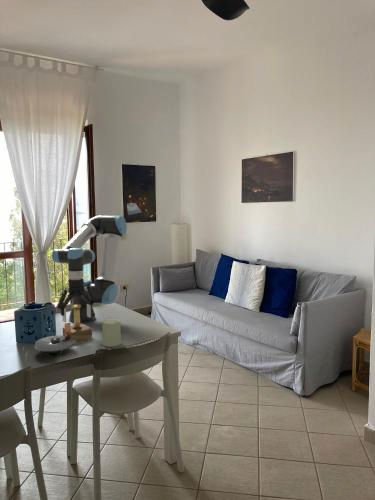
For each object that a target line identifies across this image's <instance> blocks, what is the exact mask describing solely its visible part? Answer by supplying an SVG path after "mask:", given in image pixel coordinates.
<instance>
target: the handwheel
mask: <svg viewBox="0 0 375 500" xmlns="http://www.w3.org/2000/svg"><path fill="white" fill-rule="evenodd" d="M71 323H72V322H64V327H65V336H63V334H62V335H50V336H46V337H42V338H40V339H37V340H36V341H35V342H34V348H35V350H37V351H38V352H44V353H49V352H57V351H62V352H63V351H66V350H69V349H71V348H73V347H74V346H76V342H75V339H74V338H73V337H71V326H72V324H71Z"/></svg>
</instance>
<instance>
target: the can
mask: <svg viewBox="0 0 375 500" xmlns="http://www.w3.org/2000/svg"><path fill="white" fill-rule="evenodd" d="M101 323H102V324H101V325H102V327H101V328H102V329H101V330H102V343H101V344H102V345H103V346H104V347H110V348H111V347H112V348H113V347H117V346H120V345H121V344H122V340H121V339H122V337H121V333H122V331H121V326H122V325H121V319H119V318H105V319H102V321H101Z"/></svg>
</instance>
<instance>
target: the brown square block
mask: <svg viewBox="0 0 375 500" xmlns="http://www.w3.org/2000/svg"><path fill="white" fill-rule="evenodd" d="M62 335H63V336H65V326H64V327H62ZM71 337H73V338H74V339H75V343H76V341H77V342H80V340H81V341H85V340H90V339H92V338H93V328H92V327H90V326H87V325H86V324H83V323H80V329H77V330H74V324H73V325H71Z"/></svg>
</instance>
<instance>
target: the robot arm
mask: <svg viewBox="0 0 375 500" xmlns="http://www.w3.org/2000/svg"><path fill="white" fill-rule="evenodd" d="M126 221H127V220H126V219H125V218H124V216H122V215H117V214H116V215H111V214H110V215H107V214H106V215H103V214H101V215H95V216H93V217H91V218H89V219H88V220H86V221H85V222H84V223H83V224H82V225H81V228H80V229H79V230H78V231H77V232H76V233H75V234H74V235H73V236H72V237H71V238H70V239H69V240H68V241H67V242H66V243H65V244H64V245H63V246H62V247H61V248H55V249H53V250H52V252H51V259H52V261H53V262H54V263H56V264H57V263H58V264H67V273H68V274H67V276H68V277H67V278H68V280H67V282H68V288H67V289H65V288H62V292H61V295H60V298H59V301H58V302H57V305H56V309H59V310H60V316H62V319H61V320H62V322H64V323H67V309H66V307H67V305H68V304H69V303H70V301H71V306H72V305H76V304H80V305H81V308H80V324H83V323H88V322H93V321H94V320H95V319H96V313H95V309H94V308H93V307H94V306H93V305H94V304H98V305H99V304H100V305H101V304H102V305H111V304H113V303H114V302H115V300H116V299H117V297H118V290H119V289H118V285H117V284H116V281H115V280H114V274H115V267H116V260H117V255H118V248H119V241H121V240H122V238H123V236H125V235H126V234H127V228H128V227H127V222H126ZM96 235H102V237H103V239H104V240H103V246H102V251H101V252H102V253H101V258H100V264H99V272H98V275H97V276H98V277H97V278H95V279H94V282H93V281H92V280H91V279H85V280H84V265H89V264H92V263H93V262H95V260H96V254H95V252H94V251H93V250H92V249H83V246H84V245H85V244H86V243H87V242H88V241H89V240H90V239H91V238H94V237H95V236H96ZM68 319H69V320H68V321H70V323H74V308H72V307H71V310H70V313H69V316H68Z"/></svg>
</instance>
